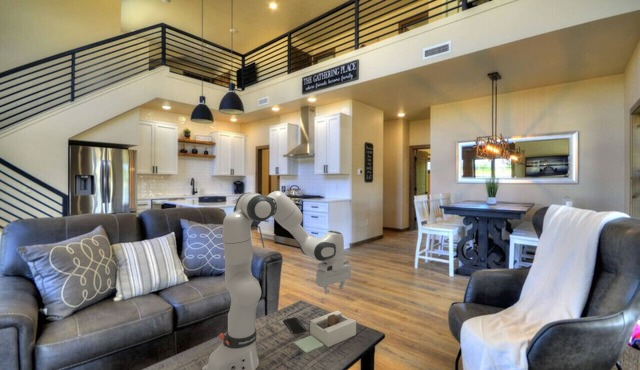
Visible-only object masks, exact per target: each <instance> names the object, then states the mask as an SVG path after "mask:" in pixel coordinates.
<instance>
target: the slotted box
mask: <svg viewBox="0 0 640 370" xmlns="http://www.w3.org/2000/svg"><path fill="white" fill-rule="evenodd" d="M333 314H335V315H336V316H338V317H339V323H338V324H336V325H333V326H331V327H328V316H330V315H333ZM309 323H310V324H309V325H310V328H309V330H310V331H309V334H310V335H311V336H313V337H314V338H315V339H317V340H318V341H319V342H321V343H322V344H324V346H326V347H327V348H329V347H332V346H334V345H336V344H339V343H341V342H344V341H346V340H348V339H349V338H352V337H353V336H356V335H357V320H355V319H353V318H348V317H346V316H345V315H343V313H342V312H341V311H339V310H335V311H333V312H329V313H327V314H325V315H322V316H318V317H316V318H313V319H311V320H310V321H309Z"/></svg>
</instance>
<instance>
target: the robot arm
mask: <svg viewBox="0 0 640 370" xmlns="http://www.w3.org/2000/svg"><path fill="white" fill-rule="evenodd" d="M271 217H272V218H273V219H274V220H275V221H276V223H277V224H279V225H280V226H281V227H282V228H283V229H285V230H286V231H288V232H289V233H290V235H292V237H293V238H294V239H295V241H296V242H297V244H298V246H299V249H300V251H301V253H302V254H303V255H305V256H308V257H310V258H312V259H315V260H316V261H319V263H318V264H317V266H316V268H317V269H318V270H317V271H316V276H315V283H316V285H317V286H318V287H320V288H323V290H324V294H325V295H328V294H330V289H328V287H329V286H330V285H332V284H333V285H334V284H336V283H340V284H339V285H338V289H339V290H343V289H344V286H345V283H346V281H347V280H350V279H351V278H352V269H351V262H350V261H349V260H345V259H344V258H345V257H344V249H345V242H344V235H343V234H342V233H341V232H339V231H336V230H328V231H327V232H326V234H324V235H323V236H322V237H320V238H319V237H316V236H314V235H313V234H309V233H308V232H307V230H306V229H305V228H304V227H303V226H302V222H303V218H304V215H303V213H302V211H301V210H300V207H298V206H297V205H296V203H295V202H294V201H293V200H292V199H291V198H290V197H288V195H286V194H285V193H283V192H282V191H281V190H275V191H272V192H270V193H269V194H268V195H262V194H261V193H258V192H244V193H242V194H241V195H240V196H239V197H238V198H237V200H236V202H235V206H234V207H233V212H230V213H229V214H227V215H226V216H225V217H224V218H223V221H222V222H223V223H222V242H223V253H224V263H225V264H224V284H225V288H226V289H227V291H228V293H229V295H230V306H229V307H230V308H229V311H228V313H227V332H226V334H225V333H223V332H220V334H219V335H218V338H220V340H221V341H222V340H223V341H222V342H221V344H219V346H218V347H217V348H215V350H213V351H212V352H211V353H210V355H209V358H208V360H207V361H208V362H207V364H205V365H203V366H202V369H201V370H256V369H257V368H258V367H259V365H260V359H259V357H258V351H257V344H256V343H257V327H256V313H257V306H258V302H259V301H260V299H261V297H262V287H261V285H260V283H259V281H258V280H257V279H256V278H255V277H254V276H253V273H252V260H253V258H254V253H253V252H254V251H253V240H252V233H251V232H252V231H251V227H252V224H253V222H258V223H259V222H264V221H265V222H266V221H267V220H268V219H270V218H271Z"/></svg>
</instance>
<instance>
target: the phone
mask: <svg viewBox="0 0 640 370" xmlns="http://www.w3.org/2000/svg"><path fill="white" fill-rule="evenodd" d="M282 322H283V323H284V325H285V327H286V328H287V329H288V330H289V331H290V333H291V334H292V335H293V336H294V335H299V334H304V333H307V327H305V326H304V324H303V323H302V322H301V321H300V320H299V319H298V317H296V316H295V317H290V318H285V319H283V320H282Z"/></svg>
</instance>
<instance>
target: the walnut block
mask: <svg viewBox="0 0 640 370" xmlns="http://www.w3.org/2000/svg"><path fill="white" fill-rule="evenodd" d="M338 323H339V317H338V316H336V315H335V314H333V315H330V316H328V327H331V326H333V325H336V324H338Z"/></svg>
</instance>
